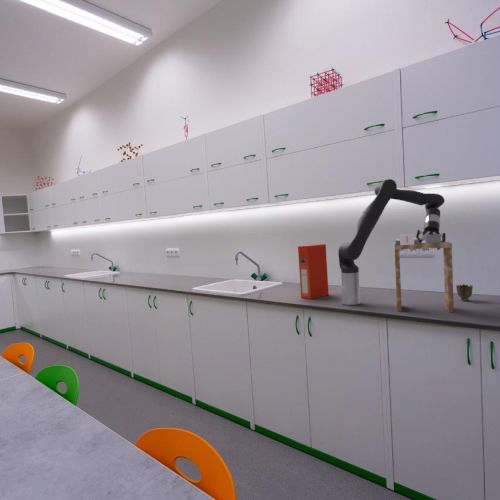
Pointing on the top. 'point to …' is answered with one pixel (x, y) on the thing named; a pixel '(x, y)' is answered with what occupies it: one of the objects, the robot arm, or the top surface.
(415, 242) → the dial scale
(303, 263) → the file binder
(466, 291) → the cup
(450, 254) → the oak shelf
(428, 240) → the block
